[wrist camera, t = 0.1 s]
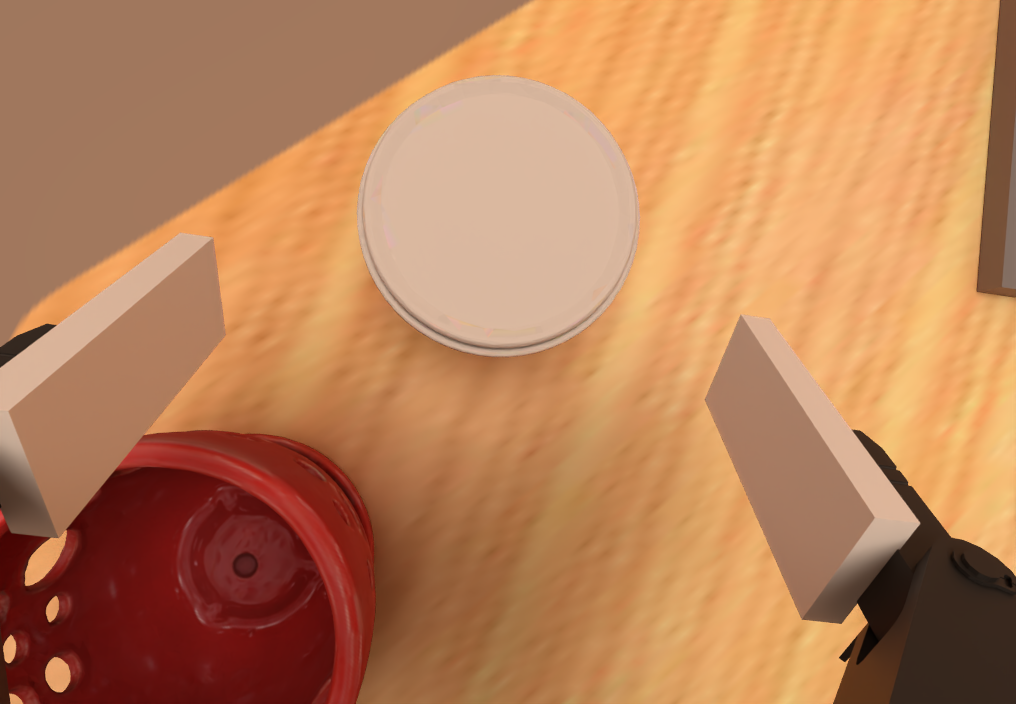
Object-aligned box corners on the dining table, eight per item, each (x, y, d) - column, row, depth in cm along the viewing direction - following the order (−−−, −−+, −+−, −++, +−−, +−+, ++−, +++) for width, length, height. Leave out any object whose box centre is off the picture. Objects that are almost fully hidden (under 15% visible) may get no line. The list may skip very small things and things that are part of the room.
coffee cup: (445, 158, 31) (432, 14, 19) (604, 236, 31) (692, 144, 19) (366, 318, 30) (299, 276, 18) (530, 395, 30) (573, 405, 18)
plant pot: (217, 736, 28) (36, 995, 16) (80, 504, 28) (-199, 592, 16) (450, 589, 29) (440, 731, 18) (317, 366, 30) (217, 356, 18)
